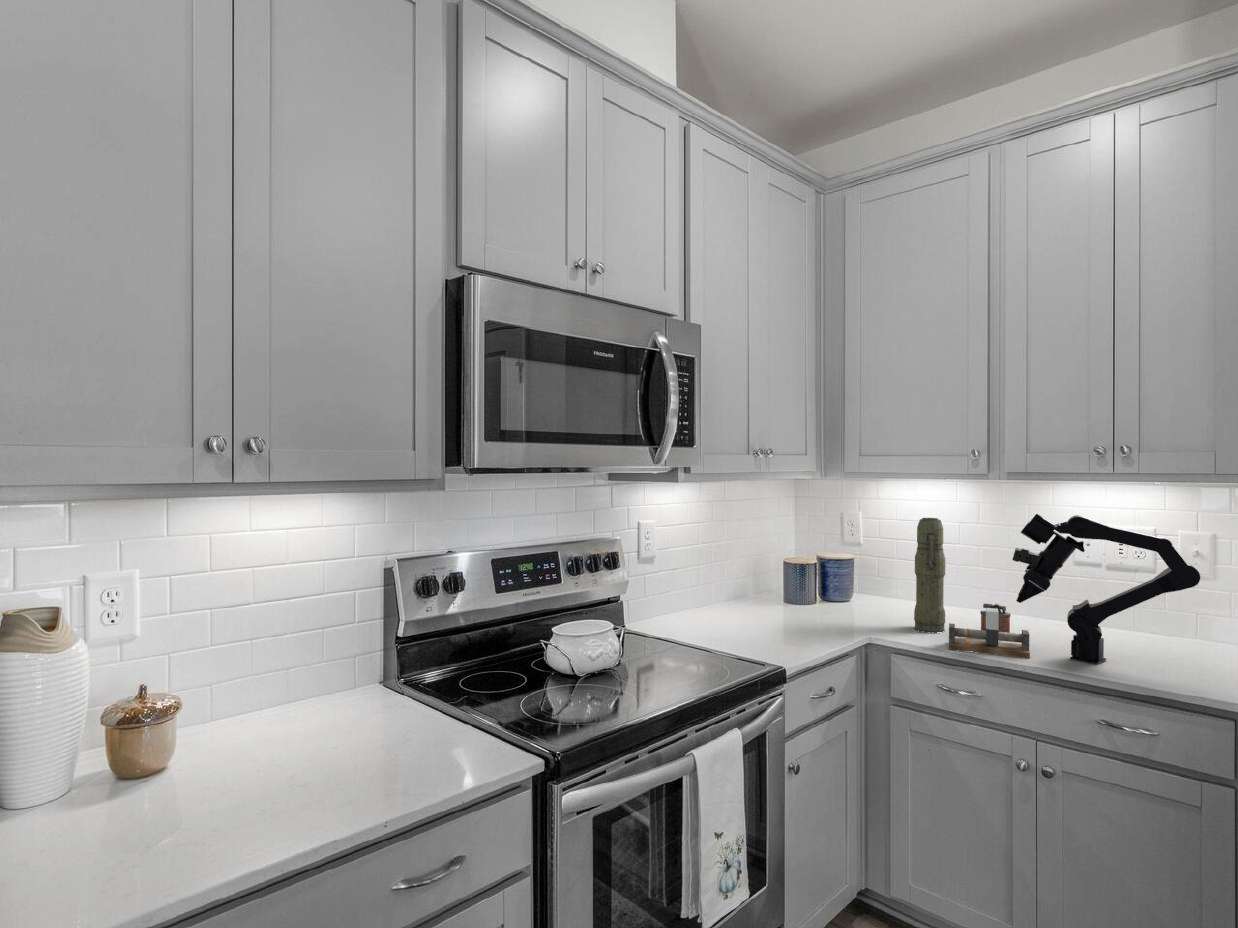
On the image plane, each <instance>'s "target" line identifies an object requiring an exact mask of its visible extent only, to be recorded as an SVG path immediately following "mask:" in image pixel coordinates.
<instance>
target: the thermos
mask: <svg viewBox="0 0 1238 928" xmlns="http://www.w3.org/2000/svg"><path fill="white" fill-rule="evenodd" d="M916 543H917V547H916V551H915V552H916V553H915V555H914V574H915V577H916V579H915V581H916V582H915V588H916V589H915V590H916V593H915V601H916V602H915V606H914V609H913V610H914V614H913V615H914V617H913V619H914V629H915V631H918V630H919V631H918V632H921V631H924V632H923V633H927V632H934V633H933V634H938V633H937V632H942V633H944V632H945V631H946V630H945V624H946V611H945V607H944V593H945V591H944V587H945V586H944V581H945V580H944V579H945V576H946V556H945V553H944V548H943V545H944V526H943V523H942V520H941V519H939V518H936V517H922V518H919V521H918V524H917V527H916ZM943 631H944V632H943Z"/></svg>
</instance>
